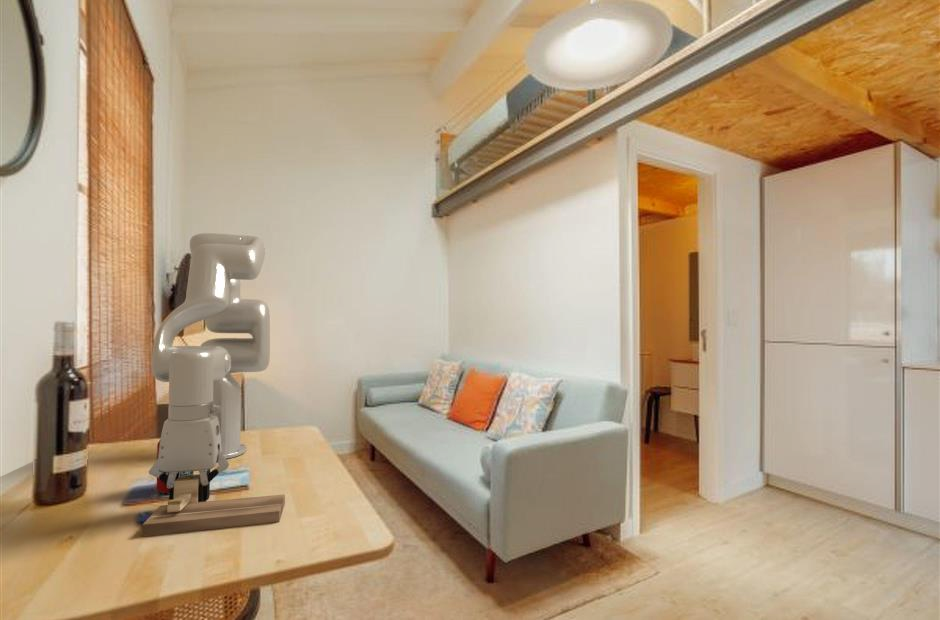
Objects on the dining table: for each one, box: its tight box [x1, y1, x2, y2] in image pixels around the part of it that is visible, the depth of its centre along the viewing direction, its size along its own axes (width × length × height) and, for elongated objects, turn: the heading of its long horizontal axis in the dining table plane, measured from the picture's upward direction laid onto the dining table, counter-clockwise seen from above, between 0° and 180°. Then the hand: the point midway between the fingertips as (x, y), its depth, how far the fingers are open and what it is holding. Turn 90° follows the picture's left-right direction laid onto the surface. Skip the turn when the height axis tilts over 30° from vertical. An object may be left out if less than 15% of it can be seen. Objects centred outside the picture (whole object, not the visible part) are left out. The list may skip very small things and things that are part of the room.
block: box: [167, 473, 201, 512], centre depth 85 cm, size 10×4×6 cm, turn 15°
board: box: [141, 494, 286, 537], centre depth 84 cm, size 8×22×2 cm, turn 106°
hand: (189, 503), depth 89 cm, fingers closed on block, 3 cm apart
